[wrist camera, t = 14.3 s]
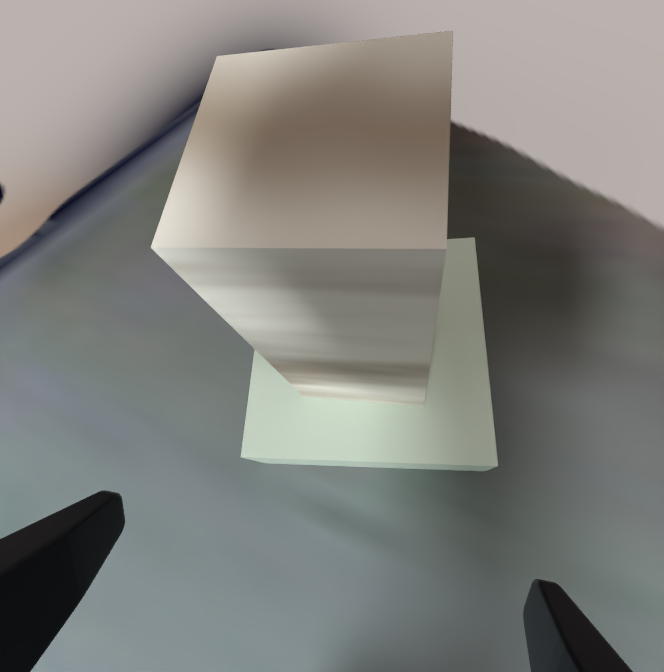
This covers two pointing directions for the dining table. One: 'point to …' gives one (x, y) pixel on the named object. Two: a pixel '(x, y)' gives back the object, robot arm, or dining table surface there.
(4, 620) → the robot arm
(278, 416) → the sage block
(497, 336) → the dining table surface
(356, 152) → the cream block
